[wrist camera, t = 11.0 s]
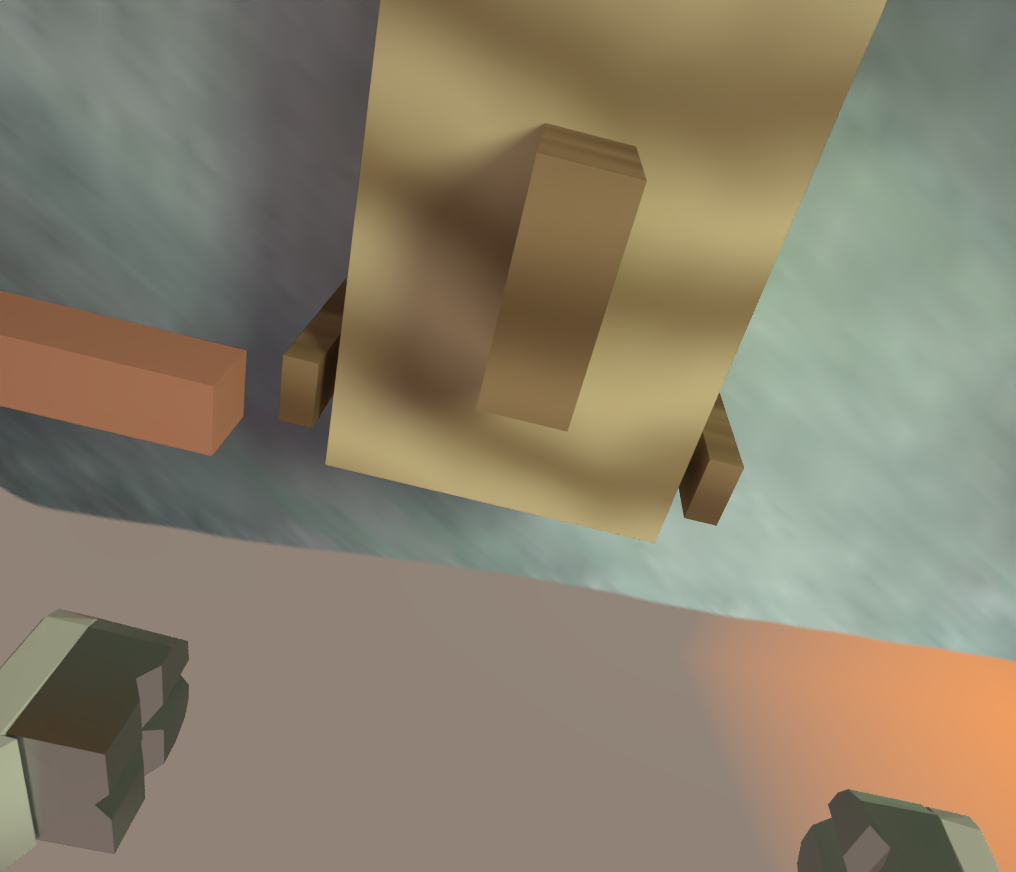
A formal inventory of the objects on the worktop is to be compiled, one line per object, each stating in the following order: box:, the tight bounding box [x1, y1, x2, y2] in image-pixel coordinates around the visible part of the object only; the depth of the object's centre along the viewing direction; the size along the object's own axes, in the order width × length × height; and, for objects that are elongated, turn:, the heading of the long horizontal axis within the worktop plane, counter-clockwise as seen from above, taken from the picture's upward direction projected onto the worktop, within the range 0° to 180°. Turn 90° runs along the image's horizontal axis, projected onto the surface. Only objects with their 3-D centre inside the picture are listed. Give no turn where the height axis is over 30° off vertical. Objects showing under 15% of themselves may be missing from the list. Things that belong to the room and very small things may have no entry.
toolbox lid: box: [325, 0, 887, 543], centre depth 25 cm, size 22×14×8 cm, turn 167°
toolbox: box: [278, 277, 744, 526], centre depth 30 cm, size 22×19×9 cm
